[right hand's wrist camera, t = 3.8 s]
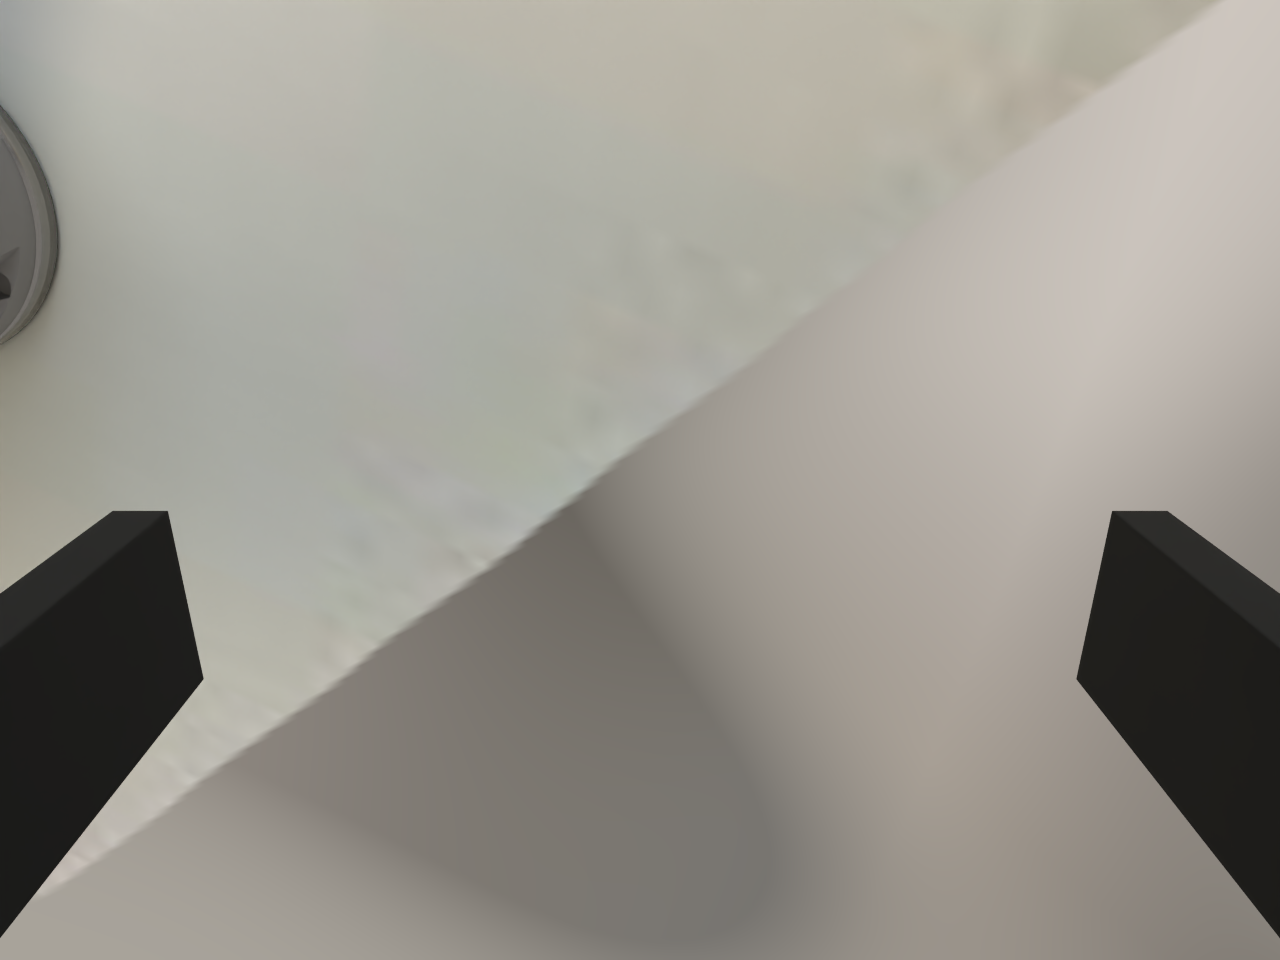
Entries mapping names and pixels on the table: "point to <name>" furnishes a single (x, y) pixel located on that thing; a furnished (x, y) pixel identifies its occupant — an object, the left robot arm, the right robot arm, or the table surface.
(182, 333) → the table surface
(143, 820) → the table surface
